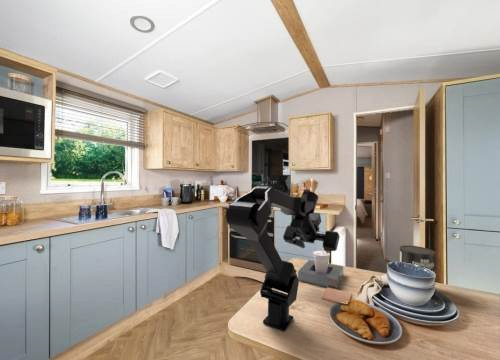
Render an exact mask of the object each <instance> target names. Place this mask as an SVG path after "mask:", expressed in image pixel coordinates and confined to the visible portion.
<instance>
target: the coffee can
mask: <svg viewBox="0 0 500 360" xmlns="http://www.w3.org/2000/svg"><path fill="white" fill-rule="evenodd" d="M436 255H437V253H436V251H434V250H433V249H429V248H427V247H422V246H417V245H400V246H399V263H400V262H406V263H411V264H412V265H413V264H416V265H419V266H421V267H425V268H428V269H430V270H431V271H433V272H434V273H435V274H436Z"/></svg>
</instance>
